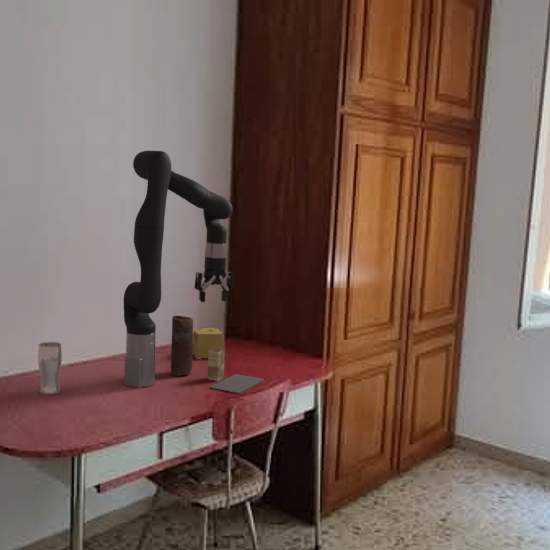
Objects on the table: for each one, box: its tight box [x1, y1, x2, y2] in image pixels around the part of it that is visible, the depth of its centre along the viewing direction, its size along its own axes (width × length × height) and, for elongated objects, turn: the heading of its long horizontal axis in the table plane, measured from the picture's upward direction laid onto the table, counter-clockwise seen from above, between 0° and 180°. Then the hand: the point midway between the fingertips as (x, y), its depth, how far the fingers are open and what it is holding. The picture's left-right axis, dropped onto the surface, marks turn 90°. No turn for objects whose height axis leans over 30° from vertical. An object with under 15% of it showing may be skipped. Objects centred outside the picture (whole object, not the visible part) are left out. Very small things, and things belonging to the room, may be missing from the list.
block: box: [207, 348, 226, 382], centre depth 242 cm, size 4×4×10 cm
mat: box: [209, 373, 265, 395], centre depth 238 cm, size 18×11×1 cm, turn 155°
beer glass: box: [37, 341, 63, 395], centre depth 220 cm, size 7×7×15 cm
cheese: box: [192, 327, 225, 360], centre depth 272 cm, size 10×11×10 cm
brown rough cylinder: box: [170, 315, 194, 377], centre depth 245 cm, size 8×7×20 cm
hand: (213, 301), depth 252 cm, fingers open, 8 cm apart
